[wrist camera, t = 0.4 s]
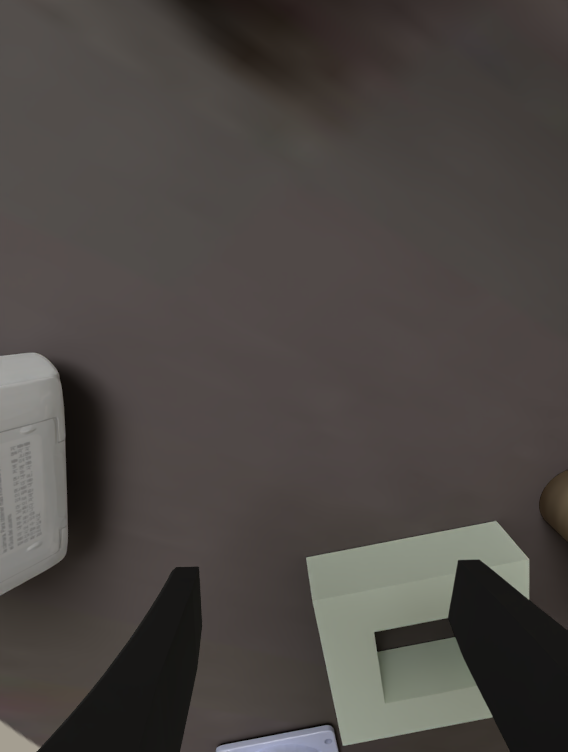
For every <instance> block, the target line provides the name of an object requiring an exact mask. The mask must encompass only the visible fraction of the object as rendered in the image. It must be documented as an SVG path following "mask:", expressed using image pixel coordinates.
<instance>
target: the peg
mask: <svg viewBox="0 0 568 752" xmlns="http://www.w3.org/2000/svg"><path fill="white" fill-rule="evenodd" d="M539 508H540V513H541V515H542V517H543V518H544V519H545V521H546V522H547V523H548V524H549V525H551V526H552V527H553V528H554V529H555V530H556V531H557V532H558V533H559V534H560V535H561V536H562V537H563V538H564V539H565V540H566V541H567V542H568V470H566V471H564V472H562V473H560V474H559V475H557V476H556V477H554V478H553V479H552V480H551V481H550V482H549V483H548V484H547V486H546V487H545V489H544V490H543V492H542V495H541V497H540V503H539Z"/></svg>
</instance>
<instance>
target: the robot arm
mask: <svg viewBox="0 0 568 752" xmlns="http://www.w3.org/2000/svg"><path fill="white" fill-rule="evenodd" d="M448 619H449V621H450V624H451V627H452V630H453V632H454V635H455V638H456V641H457V643H458V646H459V648H460V651H461V653H462V656H463V658H464V660H465V662H466V665H467V667H468V669H469V671H470V673H471V675H472V677H473V679H474V681H475V683H476V685H477V687H478V689H479V691H480V693H481V695H482V697H483V699H484V701H485V703H486V705H487V706H488V708H489V710H490V712H491V714H492V716H493V718H494V720H495V722H496V724H497V726H498V728H499V730H500V732H501V734H502V736H503V738H504V740H505V742H506V744H507V746H508V748H509V750H510V752H568V630H566V629H565V628H564V627H562V626H561V625H560V624H559V623H557V622H556V621H555V620H553V619H552V618H551V617H550V616H548V615H547V614H546V613H545V612H543V611H542V610H541V609H540V608H538V607H537V606H536V605H535V604H533V603H532V602H531V601H530V600H529V599H527V598H526V597H525V596H524V595H522V594H521V593H520V592H519V591H518V590H516V589H515V588H514V587H513V586H512V585H510V584H509V583H508V582H507V581H505V580H504V579H503V578H502V577H501V576H499V575H498V574H497V573H496V572H495V571H493V570H492V569H491V568H490V567H488V566H487V565H486V564H485V563H483V562H482V561H481V560H479V559H478V560H458V564H457V569H456V575H455V580H454V586H453V592H452V597H451V603H450V609H449V614H448ZM201 630H202V616H201V597H200V578H199V567H176V568H175V569H174V570H173V571H172V572H171V574H170V576H169V578H168V580H167V581H166V583H165V585H164V587H163V588H162V590H161V592H160V594H159V595H158V597H157V598H156V600H155V602H154V603H153V605H152V606H151V608H150V610H149V611H148V613H147V614H146V616H145V617H144V619H143V620H142V622H141V623H140V625H139V626H138V628H137V629H136V631H135V632H134V634H133V635H132V637H131V638H130V640H129V641H128V642H127V644H126V645H125V647H124V648H123V649H122V651H121V652H120V653H119V655H118V656H117V657H116V659H115V660H114V661H113V663H112V664H111V665H110V667H109V668H108V669H107V671H106V672H105V673H104V675H103V676H102V677H101V678H100V680H99V681H98V682H97V684H96V685H95V686H94V687H93V689H92V690H91V691H90V692H89V693H88V695H87V696H86V697H85V698H84V699H83V701H82V702H81V703H80V704H79V705H78V706H77V708H76V709H75V710H74V711H73V712H72V714H71V715H70V716H69V717H68V718H67V719H66V720H65V721H64V723H63V724H62V725H61V726H60V727H59V728H58V729H57V730H56V731H55V732H54V734H53V735H52V736H51V737H50V738H49V739H48V740H47V741H46V742H45V743H44V745H43V746H42V747H41V748H40V749H39V750H38V751H37V752H180V748H181V744H182V739H183V734H184V729H185V725H186V720H187V715H188V710H189V706H190V701H191V696H192V691H193V686H194V681H195V676H196V672H197V665H198V657H199V648H200V639H201ZM216 752H339V751H338V747H337V742H336V737H335V733H334V729H333V727H332V726H330V725H323V726H318V727H313V728H308V729H302V730H297V731H292V732H287V733H282V734H276V735H271V736H266V737H261V738H255V739H250V740H245V741H240V742H235V743H229V744H224V745H220V746H219V747H217V749H216Z"/></svg>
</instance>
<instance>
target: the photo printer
mask: <svg viewBox="0 0 568 752" xmlns="http://www.w3.org/2000/svg"><path fill="white" fill-rule="evenodd" d="M65 436H66V434H65V416H64V402H63V393H62V386H61V382H60V375H59V373H58V371H57V369H56V368H55V366H54V365H53V364H52V363H51V362H50V361H49V360H48V359H47V358H45V357H44V356H42V355H40V354H37V353H22V354H14V355H6V356H0V595H2V594H4V593H6V592H8V591H10V590H11V589H13V588H15V587H17V586H19V585H21V584H22V583H24V582H26V581H27V580H29V579H31V578H33V577H35V576H37V575H39V574H40V573H42V572H44V571H46V570H47V569H49V568H51V567H52V566H54V565H55V564H57V563H58V562H60V561H61V560H62V559H63V558H64V557H65V555H66V552H67V544H68V513H67V481H66V451H65Z"/></svg>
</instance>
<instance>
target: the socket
mask: <svg viewBox="0 0 568 752" xmlns="http://www.w3.org/2000/svg"><path fill="white" fill-rule="evenodd" d="M478 559H479V560H481V561H482V562H483V563H485V564H486V565H487V566H488V567H490V568H491V569H492V570H493V571H495V572H496V573H497V574H498V575H499V576H501V577H502V578H503V579H504V580H505V581H507V582H508V583H509V584H510V585H512V586H513V587H514V588H515V589H516V590H518V591H519V592H520V593H521V594H522V595H524V596H525V597H526V598H527V599H529V558H528V557H527V556H526V555H525V554H524V553H523V552H522V550H521V549H520V548H519V547H518V546H517V545H516V543H515V542H514V541H513V540H512V539H511V538H510V536H509V535H508V534H507V533H506V532H505V531H504V529H503V528H502V527H501V526H500V525H499V524H498V522H497V521H493V522H488V523H483V524H478V525H472V526H467V527H462V528H457V529H452V530H447V531H441V532H436V533H431V534H426V535H421V536H415V537H410V538H405V539H400V540H395V541H389V542H384V543H379V544H374V545H369V546H363V547H358V548H353V549H348V550H343V551H338V552H332V553H327V554H322V555H317V556H312V557H306V561H307V568H308V574H309V581H310V588H311V595H312V601H313V606H314V611H315V616H316V620H317V625H318V630H319V635H320V639H321V644H322V649H323V654H324V659H325V663H326V668H327V673H328V678H329V682H330V687H331V692H332V697H333V701H334V706H335V711H336V716H337V721H338V725H339V730H340V735H341V740H342V744H343V746H345V745H350V744H356V743H361V742H366V741H371V740H376V739H382V738H387V737H392V736H397V735H403V734H408V733H413V732H418V731H424V730H429V729H434V728H439V727H444V726H450V725H455V724H460V723H465V722H471V721H476V720H481V719H486V718H491V717H493V716H492V714H491V712H490V710H489V708H488V706H487V705H486V703H485V701H484V699H483V697H482V695H481V693H480V691H479V689H478V687H477V685H476V683H475V681H474V679H473V677H472V675H471V673H470V671H469V669H468V667H467V665H466V662H465V660H464V658H463V656H462V653H461V651H460V648H459V646H458V643H457V641H456V638H455V637H452V638H447V639H442V640H437V641H432V642H426V643H421V644H416V645H411V646H406V647H400V648H395V649H390V650H385V651H380V652H377V648H376V642H375V635H374V632H377V631H383V630H388V629H393V628H398V627H403V626H409V625H414V624H419V623H424V622H429V621H435V620H440V619H445V618H448V614H449V609H450V603H451V597H452V592H453V586H454V580H455V575H456V569H457V564H458V560H478Z"/></svg>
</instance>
